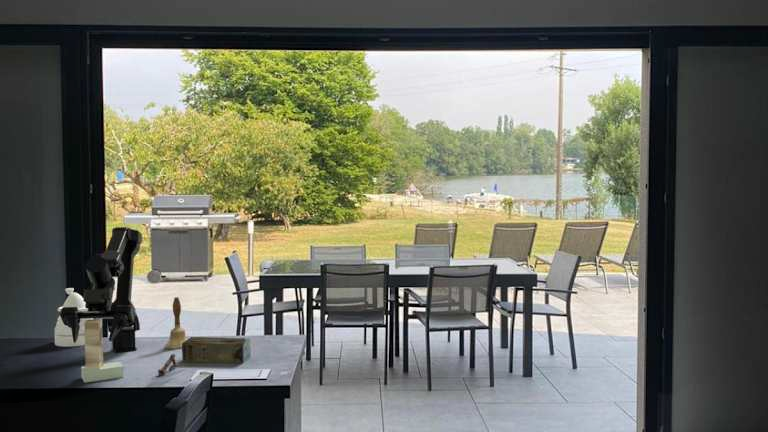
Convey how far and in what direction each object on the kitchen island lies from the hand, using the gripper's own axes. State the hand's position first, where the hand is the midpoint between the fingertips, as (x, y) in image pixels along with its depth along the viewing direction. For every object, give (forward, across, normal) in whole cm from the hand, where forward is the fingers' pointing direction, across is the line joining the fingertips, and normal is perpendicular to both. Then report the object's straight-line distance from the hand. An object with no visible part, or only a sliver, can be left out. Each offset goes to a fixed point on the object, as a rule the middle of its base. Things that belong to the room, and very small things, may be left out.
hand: (92, 341), depth 189 cm
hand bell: (-18, +16, +34) cm, 42 cm away
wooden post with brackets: (+4, +19, +12) cm, 22 cm away
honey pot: (-26, -19, +42) cm, 52 cm away
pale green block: (+6, +2, +9) cm, 11 cm away
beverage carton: (-4, +31, +20) cm, 37 cm away
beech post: (+4, 0, +6) cm, 8 cm away
